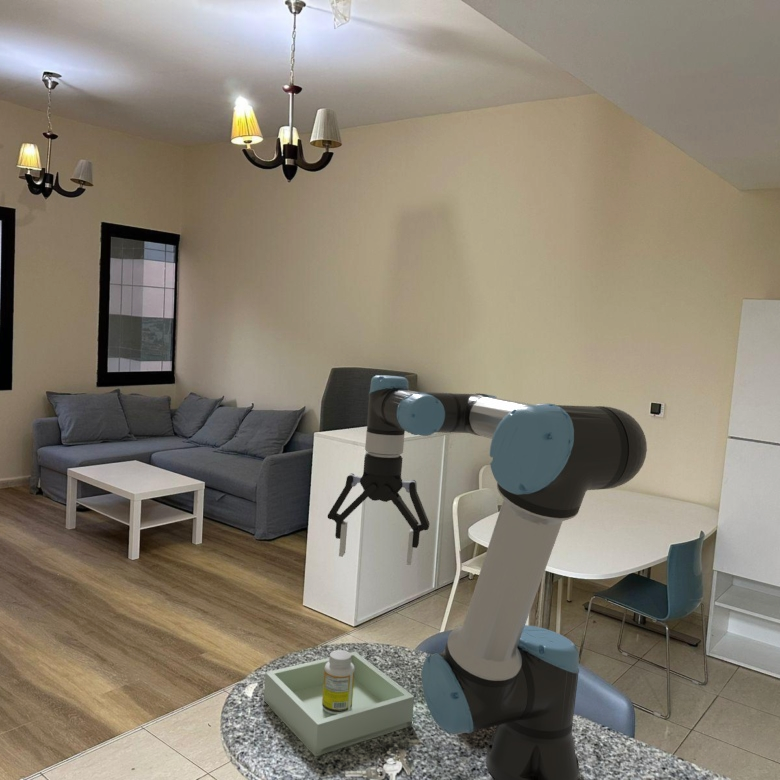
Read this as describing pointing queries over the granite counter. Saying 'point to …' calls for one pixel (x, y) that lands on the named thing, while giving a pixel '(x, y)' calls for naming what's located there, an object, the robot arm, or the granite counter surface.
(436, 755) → the granite counter surface
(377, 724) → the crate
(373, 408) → the robot arm
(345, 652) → the supplement bottle
